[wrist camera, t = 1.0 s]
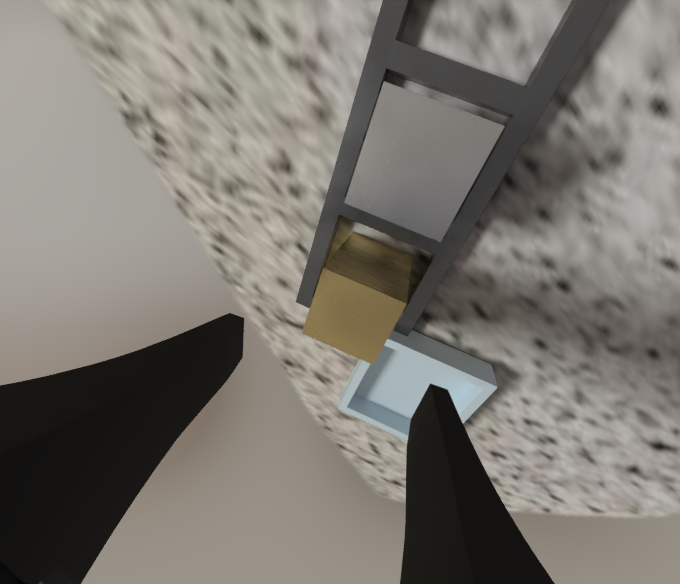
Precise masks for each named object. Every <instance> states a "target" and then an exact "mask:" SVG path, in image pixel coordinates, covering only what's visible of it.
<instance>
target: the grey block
mask: <svg viewBox="0 0 680 584" xmlns="http://www.w3.org/2000/svg"><path fill="white" fill-rule="evenodd" d="M504 127H505V126H504V125H501V124H498V123H495V122H493V121H490V120H487V119H485V118H482V117H479V116H477V115H474V114H471V113H469V112H466V111H463V110H460V109H458V108H455V107H452V106H450V105H447V104H444V103H442V102H439V101H436V100H434V99H431V98H428V97H425V96H423V95H420V94H417V93H415V92H412V91H409V90H407V89H404V88H401V87H398V86H396V85H393V84H390V83H388V82H385V81H384V82H383V85H382V88H381V91H380V95H379V98H378V101H377V104H376V107H375V110H374V113H373V116H372V119H371V122H370V125H369V128H368V131H367V134H366V137H365V140H364V144H363V147H362V150H361V153H360V156H359V159H358V162H357V165H356V168H355V171H354V174H353V177H352V180H351V183H350V186H349V190H348V193H347V196H346V199H345V202H344V203H346V204H348V205H350V206H353V207H355V208H358V209H360V210H363V211H365V212H368V213H370V214H372V215H375V216H377V217H380V218H382V219H385V220H387V221H390V222H392V223H394V224H397V225H399V226H402V227H404V228H407V229H409V230H412V231H414V232H416V233H419V234H421V235H424V236H426V237H429V238H431V239H434V240H436V241H438V242H441V241H442V239H443V237H444V235H445V233H446V232H447V230H448V228H449V226H450V224H451V223H452V221H453V219H454V217H455V215H456V214H457V212H458V210H459V208H460V206H461V204H462V203H463V201H464V199H465V197H466V195H467V194H468V192H469V190H470V188H471V186H472V185H473V183H474V181H475V179H476V177H477V176H478V174H479V172H480V170H481V168H482V166H483V165H484V163H485V161H486V159H487V157H488V156H489V154H490V152H491V150H492V148H493V147H494V145H495V143H496V141H497V139H498V138H499V136H500V134H501V132H502V130H503V128H504Z"/></svg>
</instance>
